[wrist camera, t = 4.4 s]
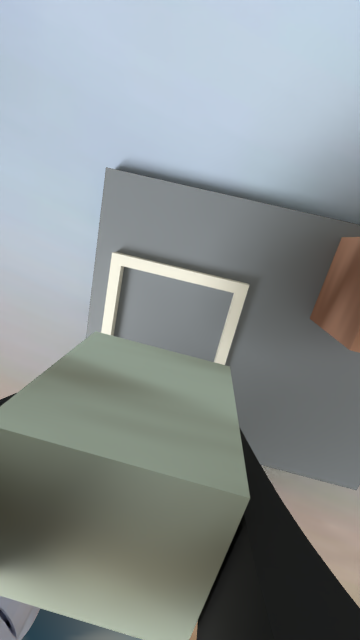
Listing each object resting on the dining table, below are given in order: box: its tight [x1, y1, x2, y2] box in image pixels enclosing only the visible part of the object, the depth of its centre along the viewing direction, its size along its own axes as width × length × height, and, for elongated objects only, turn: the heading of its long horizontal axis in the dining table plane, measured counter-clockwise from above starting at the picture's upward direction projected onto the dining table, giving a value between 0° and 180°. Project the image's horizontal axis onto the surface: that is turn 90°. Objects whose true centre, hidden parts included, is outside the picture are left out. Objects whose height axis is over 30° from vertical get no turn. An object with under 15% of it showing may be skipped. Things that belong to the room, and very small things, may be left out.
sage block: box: [0, 331, 250, 640], centre depth 7 cm, size 4×4×4 cm
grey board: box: [86, 167, 360, 490], centre depth 16 cm, size 16×20×1 cm
